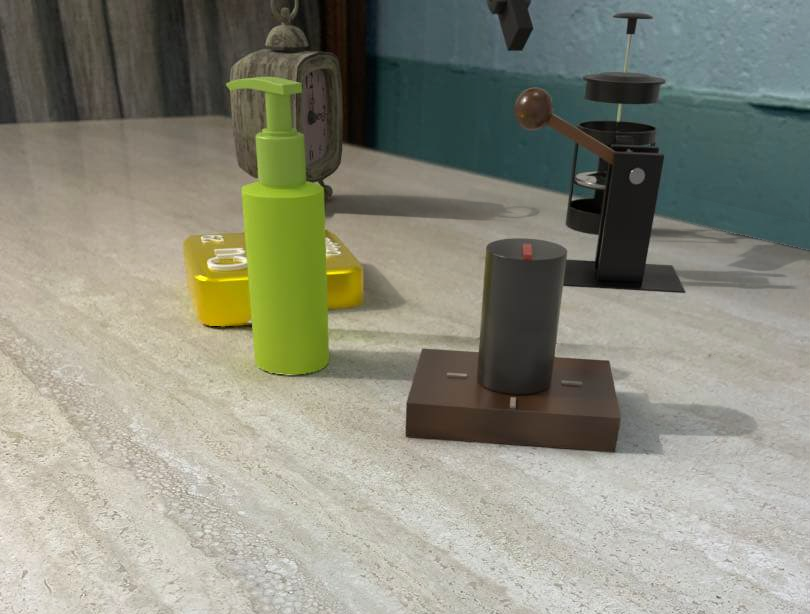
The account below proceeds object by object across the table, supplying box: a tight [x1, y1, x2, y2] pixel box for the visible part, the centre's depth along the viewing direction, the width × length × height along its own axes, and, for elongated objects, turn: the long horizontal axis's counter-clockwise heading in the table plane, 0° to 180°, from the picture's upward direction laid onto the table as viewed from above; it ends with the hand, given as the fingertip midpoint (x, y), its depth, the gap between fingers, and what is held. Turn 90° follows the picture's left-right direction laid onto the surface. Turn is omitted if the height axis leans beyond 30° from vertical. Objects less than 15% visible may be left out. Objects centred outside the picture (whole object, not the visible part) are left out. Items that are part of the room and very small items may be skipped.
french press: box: [565, 12, 667, 236], centre depth 98 cm, size 12×9×23 cm
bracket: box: [563, 144, 686, 294], centre depth 84 cm, size 12×9×13 cm
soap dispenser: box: [225, 77, 330, 375], centre depth 64 cm, size 6×7×20 cm
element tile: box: [182, 228, 364, 328], centre depth 81 cm, size 15×15×5 cm
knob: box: [477, 237, 568, 394], centre depth 58 cm, size 5×5×9 cm
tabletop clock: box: [229, 0, 344, 199], centre depth 108 cm, size 14×9×25 cm, turn 161°
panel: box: [405, 347, 622, 453], centre depth 61 cm, size 14×10×3 cm
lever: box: [513, 86, 633, 165], centre depth 81 cm, size 14×4×4 cm, turn 83°
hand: (520, 39), depth 80 cm, fingers closed
